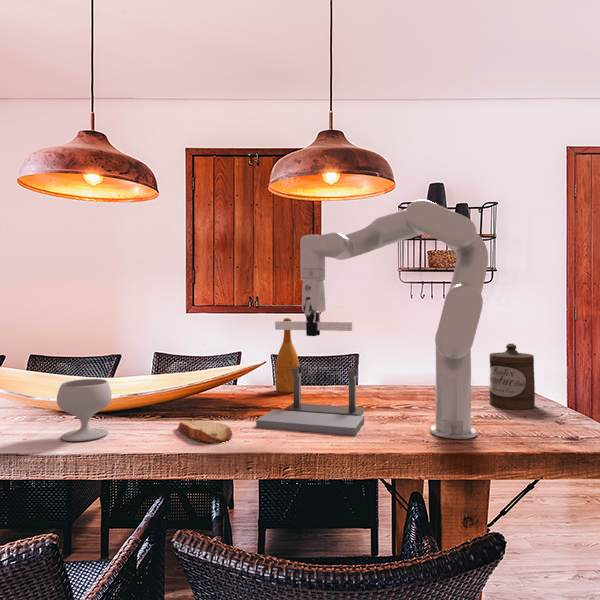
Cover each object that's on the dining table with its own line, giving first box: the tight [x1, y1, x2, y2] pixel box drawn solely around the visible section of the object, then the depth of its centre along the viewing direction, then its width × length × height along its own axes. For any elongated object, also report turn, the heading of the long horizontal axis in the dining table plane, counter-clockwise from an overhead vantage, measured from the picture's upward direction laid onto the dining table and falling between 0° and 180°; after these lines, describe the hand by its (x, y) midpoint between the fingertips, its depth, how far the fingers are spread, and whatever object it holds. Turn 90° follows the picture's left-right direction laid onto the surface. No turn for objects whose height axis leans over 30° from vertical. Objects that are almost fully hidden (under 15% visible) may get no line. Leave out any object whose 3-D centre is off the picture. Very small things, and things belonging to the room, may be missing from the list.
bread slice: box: [177, 420, 233, 444], centre depth 138 cm, size 18×18×4 cm
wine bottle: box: [274, 317, 300, 394], centre depth 200 cm, size 10×10×30 cm
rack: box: [283, 366, 365, 416], centre depth 163 cm, size 10×25×15 cm, turn 73°
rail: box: [274, 320, 353, 332], centre depth 150 cm, size 2×24×2 cm, turn 71°
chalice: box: [56, 378, 112, 442], centre depth 136 cm, size 14×14×15 cm
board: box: [255, 409, 365, 436], centre depth 147 cm, size 14×30×2 cm, turn 73°
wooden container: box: [488, 343, 536, 410], centre depth 174 cm, size 15×15×22 cm
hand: (313, 335), depth 150 cm, fingers closed on rail, 2 cm apart
